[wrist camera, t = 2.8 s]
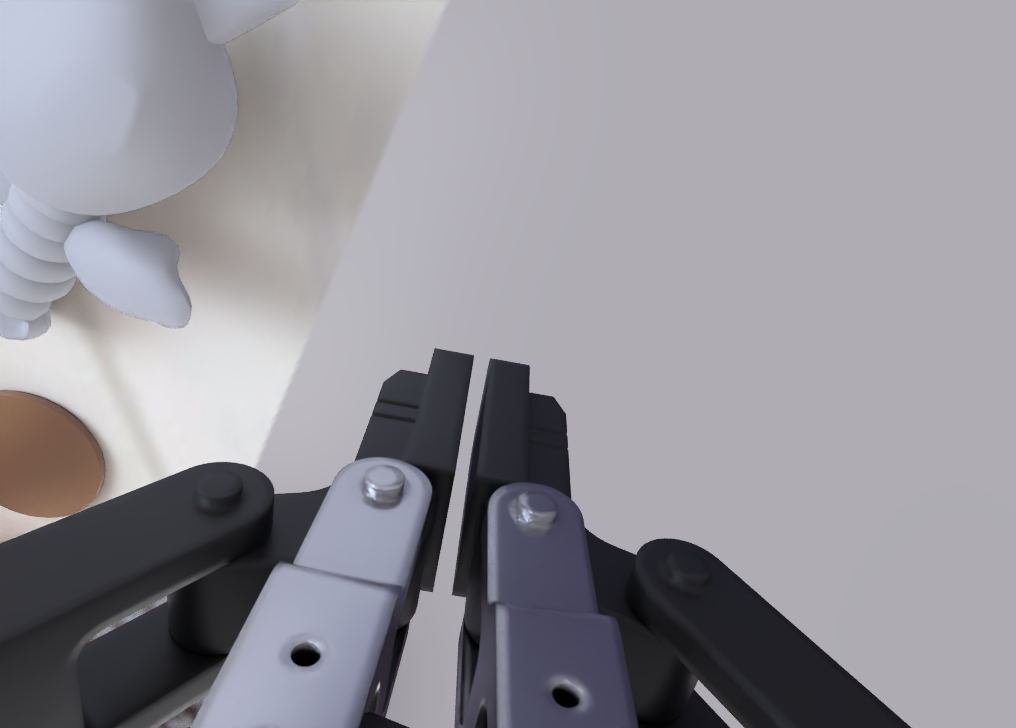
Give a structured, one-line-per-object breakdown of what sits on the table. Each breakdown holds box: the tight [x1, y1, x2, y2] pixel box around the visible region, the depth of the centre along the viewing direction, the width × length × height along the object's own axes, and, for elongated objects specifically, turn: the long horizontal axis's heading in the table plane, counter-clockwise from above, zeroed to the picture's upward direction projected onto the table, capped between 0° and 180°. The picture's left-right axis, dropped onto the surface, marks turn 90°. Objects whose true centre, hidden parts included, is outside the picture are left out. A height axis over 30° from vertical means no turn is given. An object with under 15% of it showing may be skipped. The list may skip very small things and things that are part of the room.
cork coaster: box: [0, 391, 105, 518], centre depth 36 cm, size 7×7×1 cm
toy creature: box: [0, 0, 299, 340], centre depth 25 cm, size 13×7×20 cm
